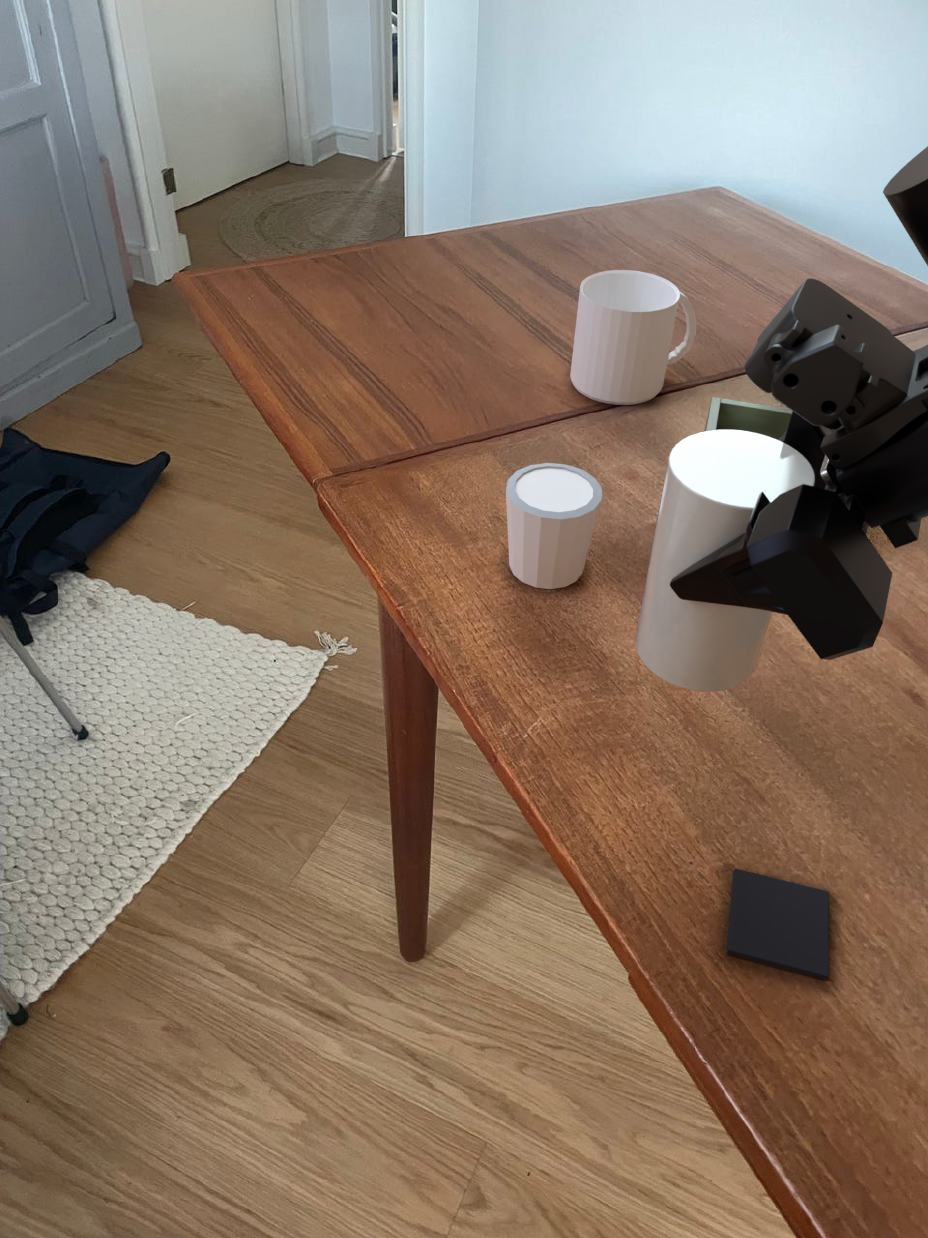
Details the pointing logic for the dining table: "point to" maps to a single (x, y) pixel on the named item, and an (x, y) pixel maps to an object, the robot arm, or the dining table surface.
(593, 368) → the mug
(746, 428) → the wooden box
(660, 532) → the white cylinder
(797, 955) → the coaster
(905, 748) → the dining table surface
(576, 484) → the faceted white cup
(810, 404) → the robot arm
